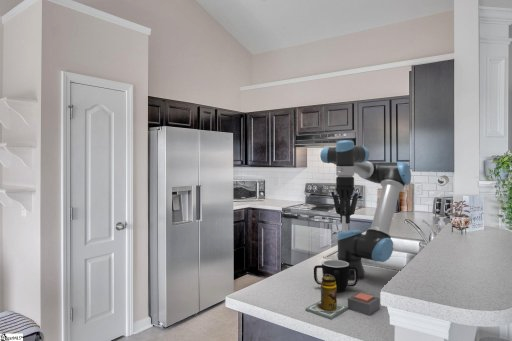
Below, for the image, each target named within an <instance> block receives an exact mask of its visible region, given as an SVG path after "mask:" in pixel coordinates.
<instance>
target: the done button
mask: <svg viewBox="0 0 512 341" xmlns="http://www.w3.org/2000/svg"><path fill="white" fill-rule="evenodd" d="M373 296H374V295H370V294H366V293H363V292H359V294H358V295H356V296H354V299H356V300H360V301H363V302H367V303H368V302H370V301H371V300H373Z"/></svg>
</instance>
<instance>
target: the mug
mask: <svg viewBox="0 0 512 341" xmlns="http://www.w3.org/2000/svg"><path fill="white" fill-rule="evenodd" d="M318 269H321V272H322V277H324V276H332V277H334V278H335V279H336V286H337V293H342V292H345V291H346V290H347V287H355V286H357V283H358V281H359V280H358V270H357V268H356V267H349V263H347V262H345V261H341V260H338V259H326V260H323V261H322V262H321V264H319V265H315V266H313V279H314V282H315V283H316V284H317V285H320V286H321V284H322V281H319V280H318ZM349 269H351V270H354V272H355V278H354V280H353V282H349V280H348V278H349Z"/></svg>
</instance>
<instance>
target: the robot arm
mask: <svg viewBox="0 0 512 341" xmlns="http://www.w3.org/2000/svg"><path fill="white" fill-rule="evenodd" d="M335 144H336V146H333V147H331V146H329V147H324V148H322V149H321V152H320V154H319V155H320V160H321V162H322V163H324V164H333V165H335V167H336V168H335V172H336V174H335V175H336V179H335V184H336V188H335V189H334V191H331V192H330V194H331V197H332V200H333V203H334V208H335V213H336V214H337V215H339V216H340V218H339V219H340V220H339V221H340V223H341V231H339V232H338V234H337V260H341V261H345V262H347V263H349V267H356V268H357V270H358V281H359V280H362V279H364V278H366V272H365V268H364V265H363V261H362V259H364V260H369V261H373V262H380V263H384V262H385V263H386V262H387V261H388V260H390V258H391V257H392V255H393V251H394V242H393V240H392V239H391V238H392V236H391V235H390V228H391V225H392V221H393V218H394V214H395V211H396V206H397V203H398V199H399V195H400V192H403V190H404V188H405V186H407V185H410V184H411V181H412V172H411V168H410V166H409V164H408V163H406V162H404V161H403V162H401V161H397V162H396V161H392V162H387V161H385V162H370V161H369V158H370V151H369V149H368V148H367V147H365V146H362V145H355V143H354V141H353V140H338V141H336V143H335ZM355 174H357V175H358V176H359V177H360V178H361V179H363V180H365V181H368V182H371V183H374V184H380V185H381V191H380V194H379V198H378V201H377V204H376V208H375V212H374V215H373V219H372V221H371V226H370V227H369V228H368V229H366V231H365V234H362V231H361V229H349V224H351V216H352V215H355V212H356V209H357V208H356V207H357V203H358V199H359V197H360V195H361V193H360V192H357V191H356V190H355V177H354V176H355ZM354 278H355V272H354V270H351V269H349V278H348V281H354Z"/></svg>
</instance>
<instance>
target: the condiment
mask: <svg viewBox="0 0 512 341" xmlns="http://www.w3.org/2000/svg"><path fill="white" fill-rule="evenodd" d="M321 282H322V284H321V285H320V301H321V303H317V302H315V303H314V304H315V307H316V311H327V312H338V308H337V304H338V301H337V299H338V297H337V296H338V295H337V293H338V292H337V286H336V279H335V278H334V277H332V276H324V277H323V276H322V278H321Z"/></svg>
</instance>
